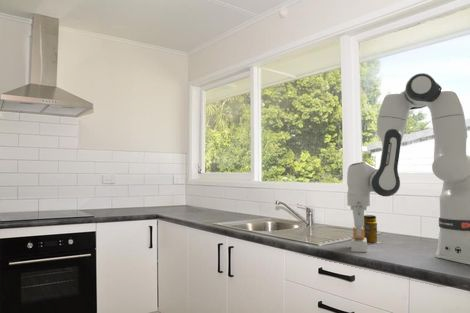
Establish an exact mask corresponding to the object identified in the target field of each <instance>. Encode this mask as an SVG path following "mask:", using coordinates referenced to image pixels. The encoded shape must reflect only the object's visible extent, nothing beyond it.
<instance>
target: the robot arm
mask: <svg viewBox="0 0 470 313" xmlns="http://www.w3.org/2000/svg"><path fill="white" fill-rule="evenodd" d="M404 88H405V89H404V90H402V91H401V92H391V93H388V94H386V95H385V97H384V98H383V101H382V103H381V105H380V108H379V113H378V116H377V123H376V134H377V136H378V137H379V139H380V141H381V146H382V148H381V155H380V156H381V157H380V160H379V161H380V163H379V167H378V168H376V166H375V167H374V166H372V165H370V164H369V163H368V162H366V161H361V162H356V163H352V164H350V165H349V166H348V168H347V172H346V174H347V175H346V179H347V180H346V185H347V194H346V196H347V197H346V200H347V206H348V207H350V210H351V211H352V215H353V224H354V226H353V227H356V230H357V236H361V229H362V228H363V227H364V215H365V211H367V209H368V207H370V206H371V201H370V200H371V199H370V196H371V195H370V194H371V192H372V193H376V194H378V195H379V196H381V197H391V196H393V195H395V194H396V193H397V192H398V191H399V189H400V188H401V180H400V177H399V172H398V169H399V168H398V167H399V161H400V160H399V159H400V153H401V144H402V141H403V137H404V134H405V131H406V127H407V123H408V116H409V112H410V111H411V110H417V109H418V110H419V109H423V108H425V107H427V108H428V109H429V111H430V115H431V123H432V130H433V138H434V147H433V148H434V149H433V150H434V151H433V162H432V164H431V165H432V166H431V168H432V169H431V170H432V174H434V176H435V177H437V178H438V179H439V180H440V181H443V182H442V188H441V193H440V195H439V217H438V227H439V234H438V239H437V240H438V241H437V247H436V248H437V249H436V253H435V257H436V258H439V259H443V260H447V261H451V262H456V263H461V264H465V265H470V155H468V154H467V139H468V131H467V124H466V119H465V118H466V117H465V112H464V108H463V105H462V101H461V98H460V96H459V94H458V92H457V91H455V90H451V89H442V86H441V85H440V84H439V83H438V82H437V81H436V80H435V78H433V76H431V75H430V74H428V73H424V72H421V73H416V74H414V75H413V76H411V77H409V79H408V80H407V82H406V84H405V87H404Z"/></svg>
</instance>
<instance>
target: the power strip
mask: <svg viewBox="0 0 470 313" xmlns="http://www.w3.org/2000/svg"><path fill="white" fill-rule="evenodd" d="M350 239H351V240H350V243H351V244H350V246H351V247H350V250H351V252H357V253H359V252H360V253H368V244H367V239H366V238H364V239H359V238H353V236H351V238H350Z"/></svg>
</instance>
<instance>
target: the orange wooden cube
mask: <svg viewBox="0 0 470 313" xmlns="http://www.w3.org/2000/svg"><path fill="white" fill-rule="evenodd" d="M352 232H353V233H352V234H353V235H352V237H353V238H359V239H364V228H363V227H362V229H361V236H357V230H356V227H355V226H353V229H352Z"/></svg>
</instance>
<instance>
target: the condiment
mask: <svg viewBox="0 0 470 313" xmlns="http://www.w3.org/2000/svg"><path fill="white" fill-rule="evenodd" d="M362 228H364V238H366V239H367V245H368V244H380V243H382V242H381V241H378V222H377V216H376V215H372V214H370V215H369V214H364V227H362Z"/></svg>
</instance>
